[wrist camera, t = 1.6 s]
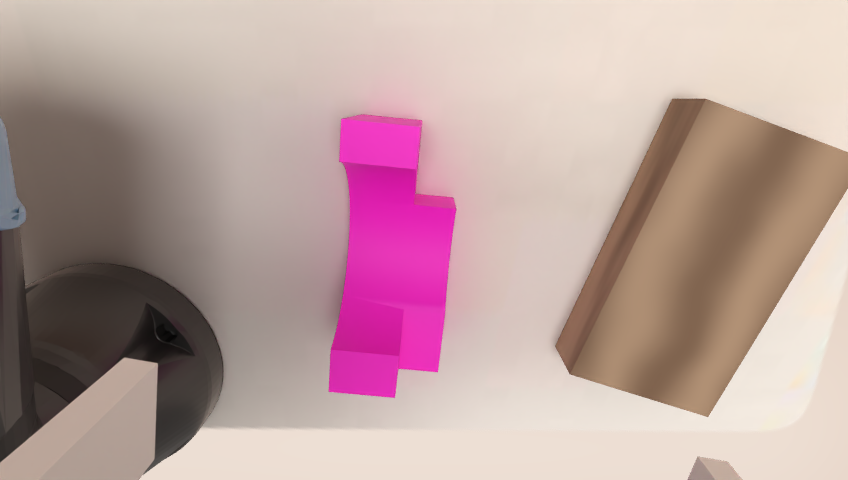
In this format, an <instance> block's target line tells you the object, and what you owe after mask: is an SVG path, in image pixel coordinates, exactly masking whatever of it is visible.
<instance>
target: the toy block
mask: <svg viewBox="0 0 848 480" xmlns="http://www.w3.org/2000/svg"><path fill="white" fill-rule="evenodd" d="M421 128H422V121H421V120H412V119H402V118H392V117H382V116H372V115H357V116H353V117H348V118H343V119H341V136H340V158H339V162H342V163H343V165H344V166H345V169H346V172H347V177H348V184H349V196H350V231H349V248H348V260H347V269H346V278H345V285H344V292H343V298H342V304H341V310H340V315H339V320H338V325H337V329H336V333H335V337H334V341H333V344H332V347H331V354H330V376H329V392H337V393H348V394H359V395H370V396H381V397H393V398H395V393H396V384H397V375H398V369H409V370H420V371H431V372H438V366H439V358H440V350H441V342H442V334H443V325H444V317H445V304H446V290H447V278H448V268H449V258H450V249H451V241H452V233H453V226H454V220H455V213H456V206H455V202H454V198H451V197H441V196H431V195H421V194H415V191H416V181H417V170H418V159H419V149H420V138H421Z"/></svg>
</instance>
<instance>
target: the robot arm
mask: <svg viewBox="0 0 848 480" xmlns="http://www.w3.org/2000/svg"><path fill="white" fill-rule="evenodd" d="M25 221H26V210H25V207H24V206H23V205H22V203H21V201H20V200H19V199H18V198H17V194H16V188H15V182H14V175H13V169H12V163H11V156H10V150H9V144H8V137H7V131H6V128H5V125H4V122H3V120H2V119H1V117H0V480H139V479H140V477H141V476H142V475H143V474H145V473H146V472H147V471H149V470H150V469H151V468H153V467H154V466H156V465H157V464H158V463H160V462H161V461H162V460H164V459H166V458H167V457H169V456H171V455H172V454H174V453H176V452H177V451H178V450H180V449H181V448H182V447H184V446H185V445H186V444H187V443H188V442H189V441H190V440H191V439H192V438H193V437H194V435H195V434H196V433H197V432H198V431H199V429H200V428H201V426H202V425H203V423H204V422H205V421H206V419H207V418H208V416H209V415H210V413H211V412H212V410H213V409H214V407H215V405H216V403H217V400H218V398H219V395H220V391H221V387H222V380H223V366H222V359H221V354H220V350H219V347H218V344H217V341H216V339H215V337H214V335H213V333H212V331H211V329H210V327H209V325H208V324H207V322H206V321H205V319H204V318H203V316H202V315H201V314H200V313H199V311H198V310H197V309H196V308H195V307H194V306H193V305H192V304H191V303H190V302H189V301H188V300H187V299H186V298H185V297H184V296H183V295H181V294H180V293H179V292H178V291H176V290H175V289H174V288H172V287H171V286H169V285H168V284H166V283H164V282H163V281H161V280H159V279H157V278H155V277H153V276H151V275H149V274H146V273H144V272H141V271H138V270H135V269H132V268H128V267H124V266H119V265H112V264H82V265H76V266H72V267H68V268H65V269H62V270H59V271H57V272H54V273H52V274H50V275H48V276H46V277H44V278H41V279H39V280H37V281H35V282H33V283H31V284H29V285H27V286H26V287H25V280H24V270H23V259H22V249H21V238H20V228H19V226H20V225H21V224H22V223H24V222H25ZM688 480H742V479H741V477H740V476H739V475H738V474H737V473H736V471H735V470H734V469H733V468H732V466H731V465H730V464H729V463H728V462H726V461H721V460H715V459H708V458H703V457H697V459H696V462H695V464H694V466H693V468H692V471H691V473H690V475H689V477H688Z"/></svg>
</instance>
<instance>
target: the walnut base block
mask: <svg viewBox="0 0 848 480" xmlns="http://www.w3.org/2000/svg"><path fill="white" fill-rule="evenodd" d="M847 189H848V152H846V151H843V150H840V149H838V148H835V147H832V146H830V145H827V144H824V143H822V142H819V141H816V140H814V139H811V138H808V137H806V136H803V135H801V134H798V133H795V132H793V131H790V130H787V129H785V128H782V127H779V126H777V125H774V124H771V123H769V122H766V121H763V120H761V119H758V118H755V117H753V116H750V115H747V114H745V113H742V112H739V111H737V110H734V109H731V108H729V107H726V106H723V105H721V104H718V103H715V102H713V101H710V100H708V99H672V101H671V103H670V105H669V107H668V109H667V111H666V113H665V115H664V118H663V120H662V122H661V124H660V126H659V128H658V130H657V132H656V134H655V137H654V139H653V141H652V143H651V145H650V147H649V149H648V151H647V153H646V156H645V158H644V160H643V162H642V164H641V166H640V168H639V170H638V172H637V175H636V177H635V179H634V181H633V183H632V185H631V187H630V189H629V192H628V194H627V196H626V198H625V200H624V202H623V204H622V206H621V208H620V211H619V213H618V215H617V217H616V219H615V221H614V223H613V225H612V227H611V230H610V232H609V234H608V236H607V238H606V240H605V242H604V244H603V246H602V249H601V251H600V253H599V255H598V257H597V259H596V261H595V263H594V265H593V268H592V270H591V272H590V274H589V276H588V278H587V280H586V282H585V285H584V287H583V289H582V291H581V293H580V295H579V297H578V299H577V301H576V304H575V306H574V308H573V310H572V312H571V314H570V316H569V318H568V320H567V323H566V325H565V327H564V329H563V331H562V333H561V335H560V337H559V339H558V342H557V344H556V346H555V347H556V349H557V350H558V352H559V354H560V356H561V358H562V360H563V362H564V364H565V366H566V368H567V370H568V372H569V374H571V375H574V376H577V377H580V378H584V379H587V380H590V381H593V382H597V383H600V384H603V385H606V386H609V387H613V388H616V389H619V390H622V391H626V392H629V393H632V394H635V395H639V396H642V397H645V398H648V399H651V400H655V401H658V402H661V403H664V404H668V405H671V406H674V407H677V408H681V409H684V410H687V411H690V412H694V413H697V414H700V415H703V416H706V417H708V416H709V415H710V413H711V411H712V410H713V408H714V406H715V405H716V403H717V401H718V400H719V398H720V397H721V395H722V393H723V392H724V390H725V388H726V387H727V385H728V383H729V382H730V380H731V379H732V377H733V375H734V374H735V372H736V370H737V369H738V367H739V365H740V364H741V362H742V361H743V359H744V357H745V356H746V354H747V352H748V351H749V349H750V347H751V346H752V344H753V343H754V341H755V339H756V338H757V336H758V334H759V333H760V331H761V329H762V328H763V326H764V325H765V323H766V321H767V320H768V318H769V316H770V315H771V313H772V311H773V310H774V308H775V307H776V305H777V303H778V302H779V300H780V298H781V297H782V295H783V293H784V292H785V290H786V289H787V287H788V285H789V284H790V282H791V280H792V279H793V277H794V275H795V274H796V272H797V271H798V269H799V267H800V266H801V264H802V262H803V261H804V259H805V257H806V256H807V254H808V253H809V251H810V249H811V248H812V246H813V244H814V243H815V241H816V239H817V238H818V236H819V235H820V233H821V231H822V230H823V228H824V226H825V225H826V223H827V222H828V220H829V218H830V217H831V215H832V213H833V212H834V210H835V208H836V207H837V205H838V204H839V202H840V200H841V199H842V197H843V195H844V194H845V192H846V190H847Z"/></svg>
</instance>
